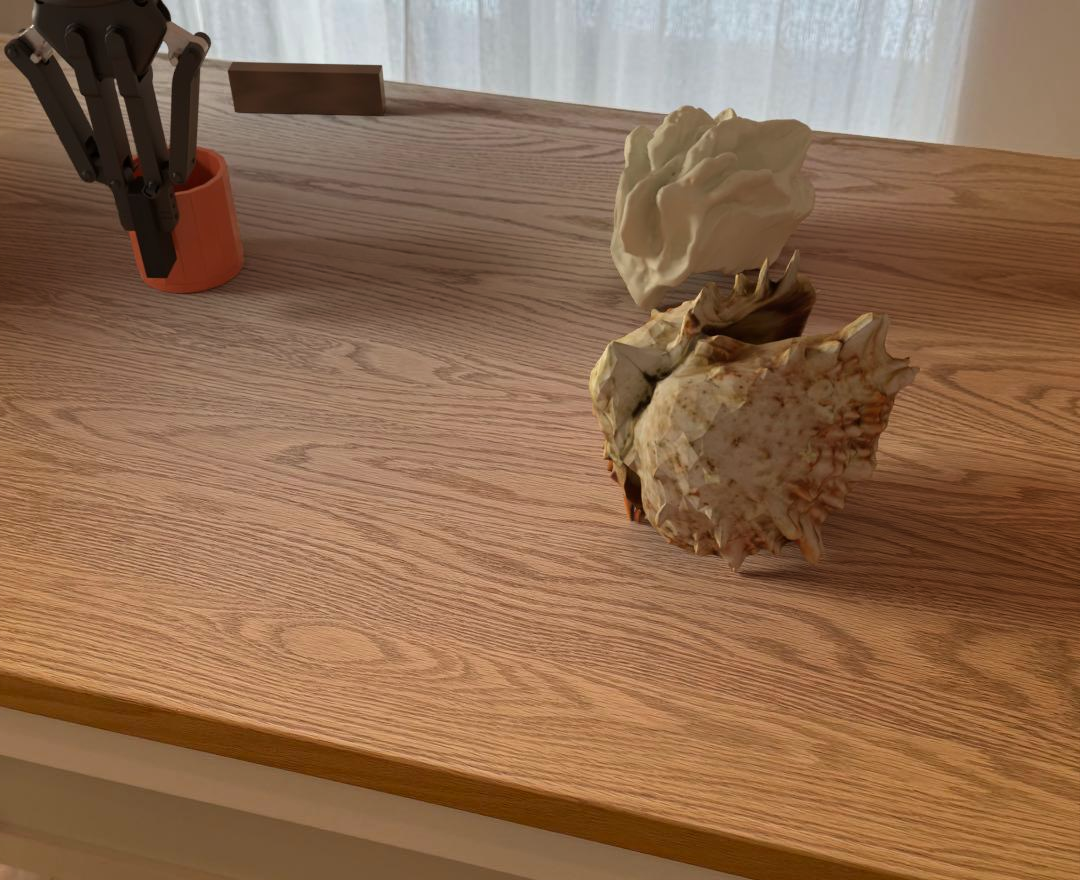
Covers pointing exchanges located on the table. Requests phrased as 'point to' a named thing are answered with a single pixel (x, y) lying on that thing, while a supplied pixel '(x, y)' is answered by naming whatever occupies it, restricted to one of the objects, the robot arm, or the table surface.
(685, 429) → the seashell
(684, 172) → the wavy plaster lump
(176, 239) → the cup
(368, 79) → the side rail
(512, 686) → the table surface
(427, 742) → the table surface
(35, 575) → the table surface
